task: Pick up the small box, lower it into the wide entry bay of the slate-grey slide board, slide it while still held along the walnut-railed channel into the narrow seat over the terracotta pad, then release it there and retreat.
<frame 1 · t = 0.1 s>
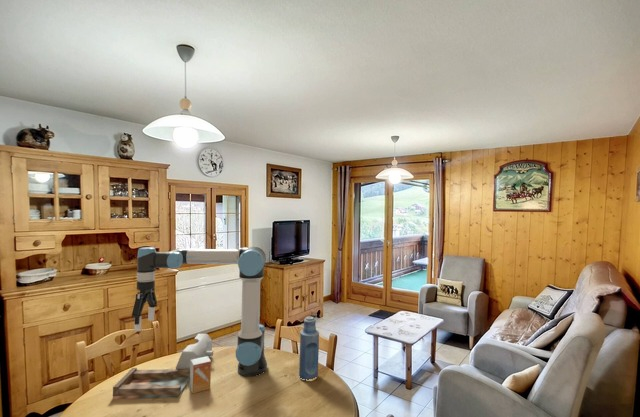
hand: (144, 325, 151), 28 cm above the table, fingers open, 13 cm apart
bottle: (308, 377, 162), on the table
small box: (199, 388, 149), on the table
slide board: (154, 387, 149), on the table
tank: (197, 365, 172), on the table
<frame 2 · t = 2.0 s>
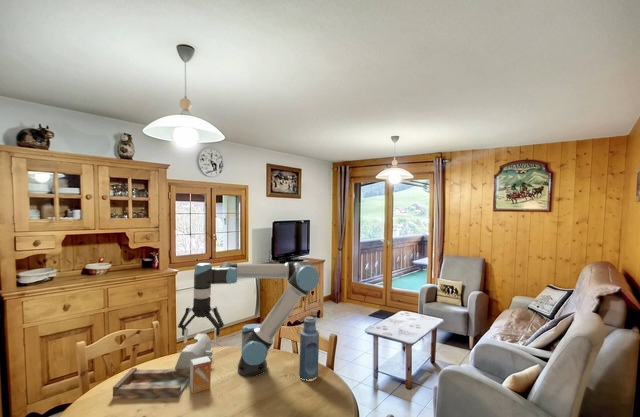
hand: (200, 342, 150), 21 cm above the table, fingers open, 13 cm apart
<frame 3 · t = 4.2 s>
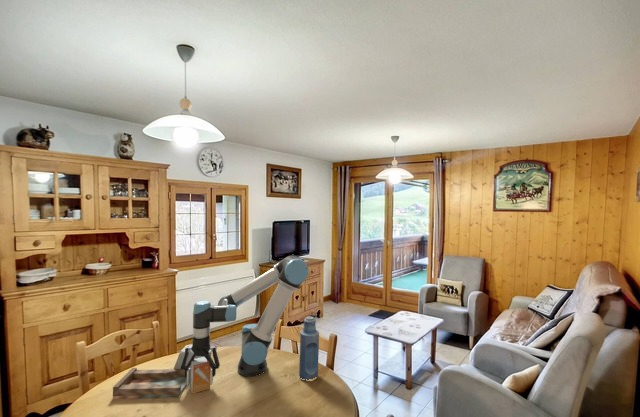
hand: (200, 383, 149), 2 cm above the table, fingers closed on small box, 10 cm apart
small box: (199, 388, 149), on the table, touching gripper
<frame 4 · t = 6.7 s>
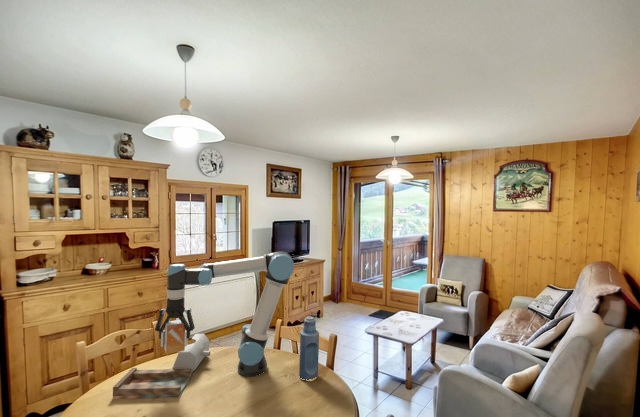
hand: (174, 345, 150), 19 cm above the table, fingers closed on small box, 10 cm apart
small box: (174, 350, 150), point 17 cm above the table, touching gripper
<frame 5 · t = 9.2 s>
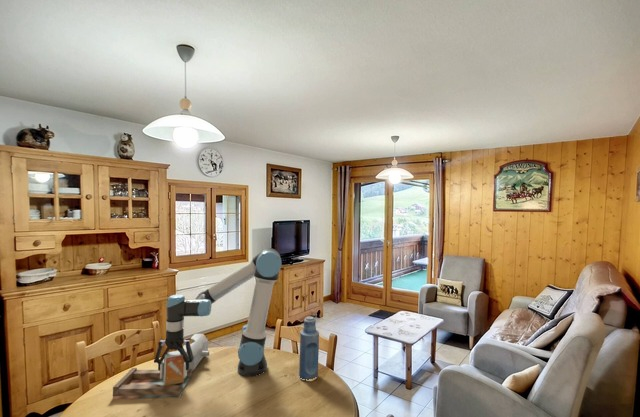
hand: (173, 376, 150), 5 cm above the table, fingers closed on small box, 10 cm apart
small box: (173, 382, 150), point 2 cm above the table, touching gripper
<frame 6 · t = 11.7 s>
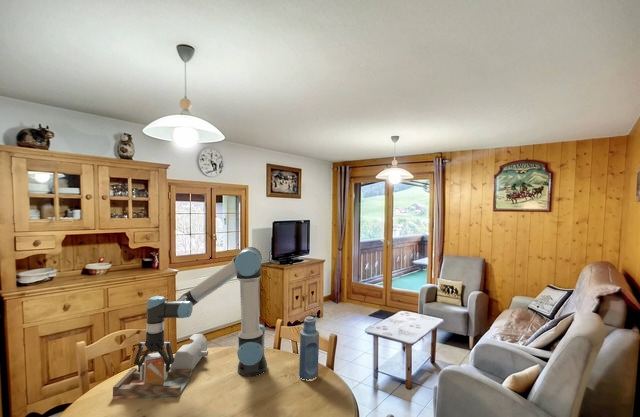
hand: (153, 378, 149), 4 cm above the table, fingers closed on small box, 10 cm apart
small box: (153, 384, 149), point 2 cm above the table, touching gripper
when the fingers open (4 cm above the table, at t = 14.2 s): small box stays where it is, resting on slide board.
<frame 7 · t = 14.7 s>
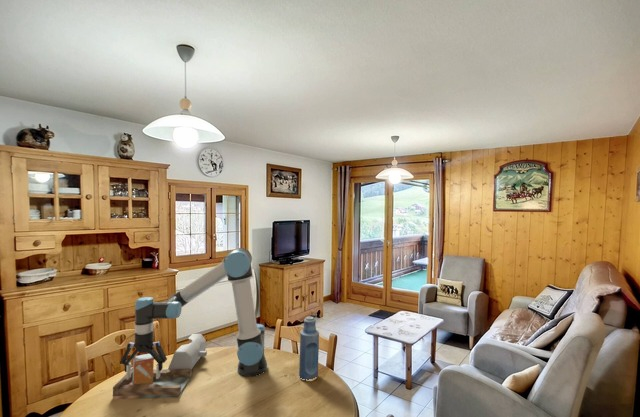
hand: (143, 378, 149), 4 cm above the table, fingers open, 12 cm apart
small box: (142, 385, 149), point 1 cm above the table, touching slide board
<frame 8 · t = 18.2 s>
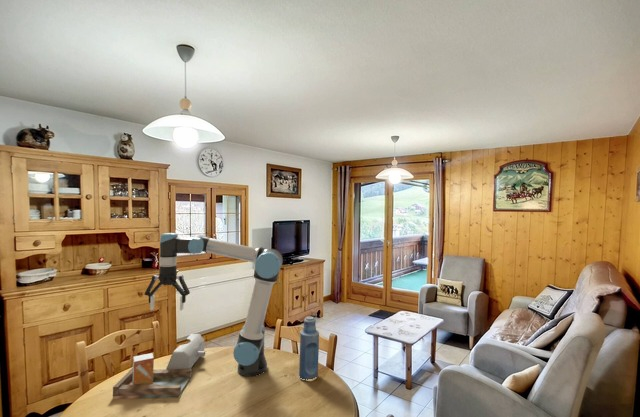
hand: (167, 309, 154), 35 cm above the table, fingers open, 13 cm apart
at the end: small box 2.2 cm from the target spot on the slide board, point 1.0 cm above the slide board's base; small box tilted 0°; the gripper is holding nothing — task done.
